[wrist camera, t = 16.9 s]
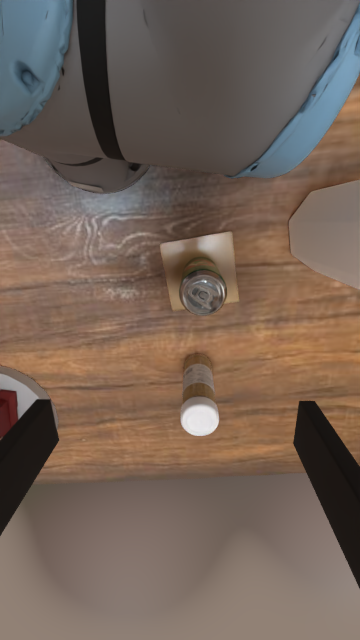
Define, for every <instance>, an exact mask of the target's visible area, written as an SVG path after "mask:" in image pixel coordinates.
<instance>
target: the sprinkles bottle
mask: <svg viewBox="0 0 360 640" xmlns="http://www.w3.org/2000/svg"><path fill="white" fill-rule="evenodd" d="M211 368H212V367H211V362H210V360H209V359H208V358H207V357H206V356H204V355H202V354H194V355H191V356H189V357H188V358H187V359H186V361H185V363H184V375H183V392H182V397H183V405H182V408H181V424H182V427H183V428H184V429H185V430H186V431H187V432H188V433H190V434H192V435H196V436H204V435H208V434H210V433H212V432H213V431H214V430H215V429H216V428H217V426H218V423H219V414H218V408H217V406H216V402H215V390H214V383H213V376H212V371H211Z"/></svg>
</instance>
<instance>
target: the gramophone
mask: <svg viewBox="0 0 360 640" xmlns="http://www.w3.org/2000/svg"><path fill="white" fill-rule="evenodd" d="M36 399H50V397H49V396H48V394H47V392H46V391H45V390H44V389H43V388H41V387H40V386H39V385H38V384H37V383H36V382H35V381H34V380H33V379H31V378H30V377H28V376H26V375H24V374H22V373H20V372H19V371H17V370H15V369H11V368H7V367H4V366H0V440H1V439H2V438H3V437H4V435H5V434H6V433H7V432H8V431H9V430H10V429H11V428H12V426H13V425H14V424H15V423H16V422H17V421H18V420H19V418H20V417H21V416H22V415H23V414H24V413H25V412H26V411H27V409H28V408H29V407H30V406H31V405H32V404H33V403H34V402H35V400H36ZM51 404H52V409H53V414H54V418H55V423H56V428H58V417H57V413H56V408H55V406H54V404H53V402H52V401H51Z"/></svg>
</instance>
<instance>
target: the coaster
mask: <svg viewBox="0 0 360 640" xmlns="http://www.w3.org/2000/svg"><path fill="white" fill-rule="evenodd" d="M160 250H161V255H162V260H163V265H164V271H165V276H166V281H167V286H168V292H169V297H170V302H171V307H172V311H179V310H186V309H185V307H184V306H183V305H182V303H181V301H180V297H179V288H180V283H181V278H182V273H183V269H184V267H185V265H186V264H187V263H188V262H189V261H190V260H191V259H193V258H195V257H206V258H209V259H211V260H212V261H213V262H214V263H215V264H216V266H217V268H218V270H219V272H220V274H221V276H222V278H223V280H224V282H225V284H226V287H227V297H226V300H225V302H224V304H226V303H232V302H239V295H238V286H237V276H236V266H235V257H234V247H233V238H232V231H228V232H222V233H217V234H211V235H205V236H200V237H194V238H188V239H183V240H177V241H171V242H166V243H160Z"/></svg>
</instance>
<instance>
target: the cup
mask: <svg viewBox="0 0 360 640" xmlns="http://www.w3.org/2000/svg"><path fill="white" fill-rule="evenodd" d="M288 224H289V237H290V250H291V254H292V255H293V256H294V257H296V258H297V259H298V260H300V261H301V262H302V263H304V264H305V265H307V266H308V267H309V268H311V269H312V270H313V271H316V272H318V273H320V274H323V275H325V276H327V277H330V278H332V279H335V280H337V281H339V282H342V283H344V284H346V285H349V286H351V287H354V288H356V289H358V290H360V180H356V181H352V182H348V183H344V184H340V185H336V186H332V187H327V188H323V189H319V190H315V191H312V192H310V193H309V195H308V196H307V197H306V199H305V200H304V201H303V203H302V204H301V205H300V207H299V208H298V209H297V211H296V212H295V213H294V215H293V216H292V217H291V219H290V220H289V223H288Z"/></svg>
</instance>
